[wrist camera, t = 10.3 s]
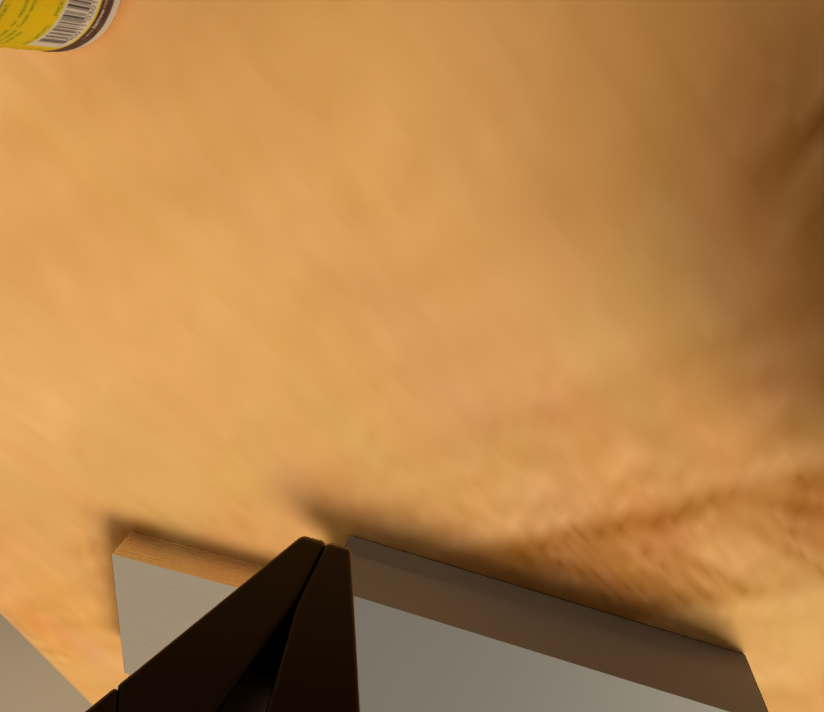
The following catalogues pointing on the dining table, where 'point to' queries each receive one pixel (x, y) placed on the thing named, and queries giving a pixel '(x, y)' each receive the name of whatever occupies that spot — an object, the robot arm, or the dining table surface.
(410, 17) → the dining table surface
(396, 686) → the slide box
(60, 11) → the supplement bottle
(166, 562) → the cover plate
